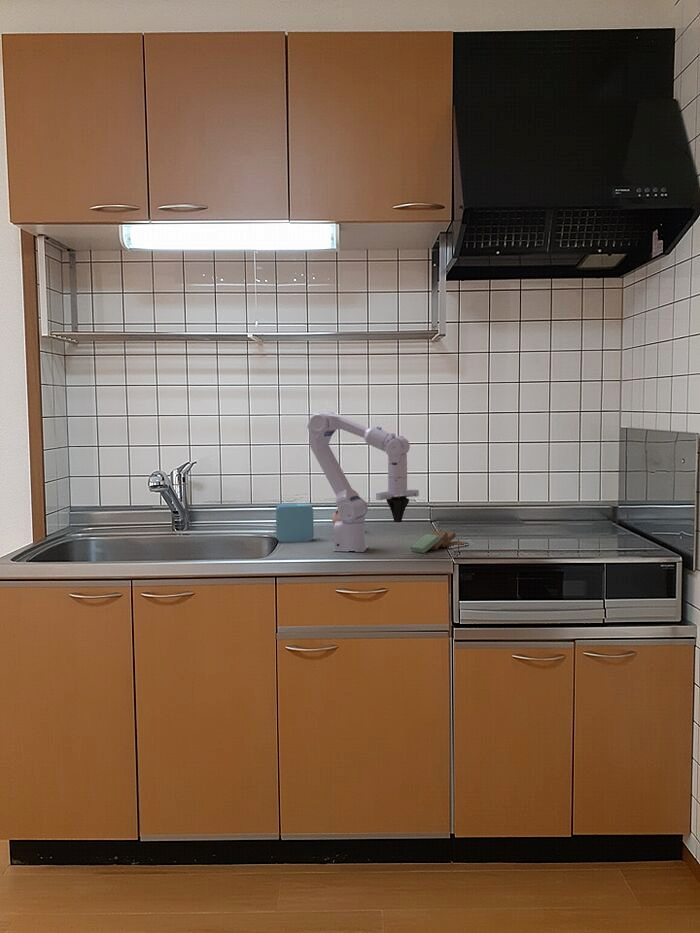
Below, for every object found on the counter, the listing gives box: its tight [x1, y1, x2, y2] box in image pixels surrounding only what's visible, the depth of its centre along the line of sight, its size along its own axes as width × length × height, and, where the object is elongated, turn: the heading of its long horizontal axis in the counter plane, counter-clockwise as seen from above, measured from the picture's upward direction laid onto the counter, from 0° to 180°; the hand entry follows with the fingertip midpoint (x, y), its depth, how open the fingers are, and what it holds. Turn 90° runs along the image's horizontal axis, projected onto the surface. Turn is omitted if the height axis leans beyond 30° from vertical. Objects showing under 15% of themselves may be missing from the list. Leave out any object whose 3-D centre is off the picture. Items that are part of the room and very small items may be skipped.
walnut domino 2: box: [438, 531, 457, 548], centre depth 250 cm, size 2×5×8 cm
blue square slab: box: [275, 503, 315, 543], centre depth 262 cm, size 12×4×12 cm, turn 99°
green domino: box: [410, 533, 440, 554], centre depth 243 cm, size 2×5×8 cm
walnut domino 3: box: [442, 540, 469, 549], centre depth 250 cm, size 2×5×8 cm
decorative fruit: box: [331, 507, 342, 525], centre depth 275 cm, size 9×8×10 cm
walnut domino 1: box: [429, 531, 448, 551], centre depth 247 cm, size 2×5×8 cm
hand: (397, 521), depth 240 cm, fingers closed
